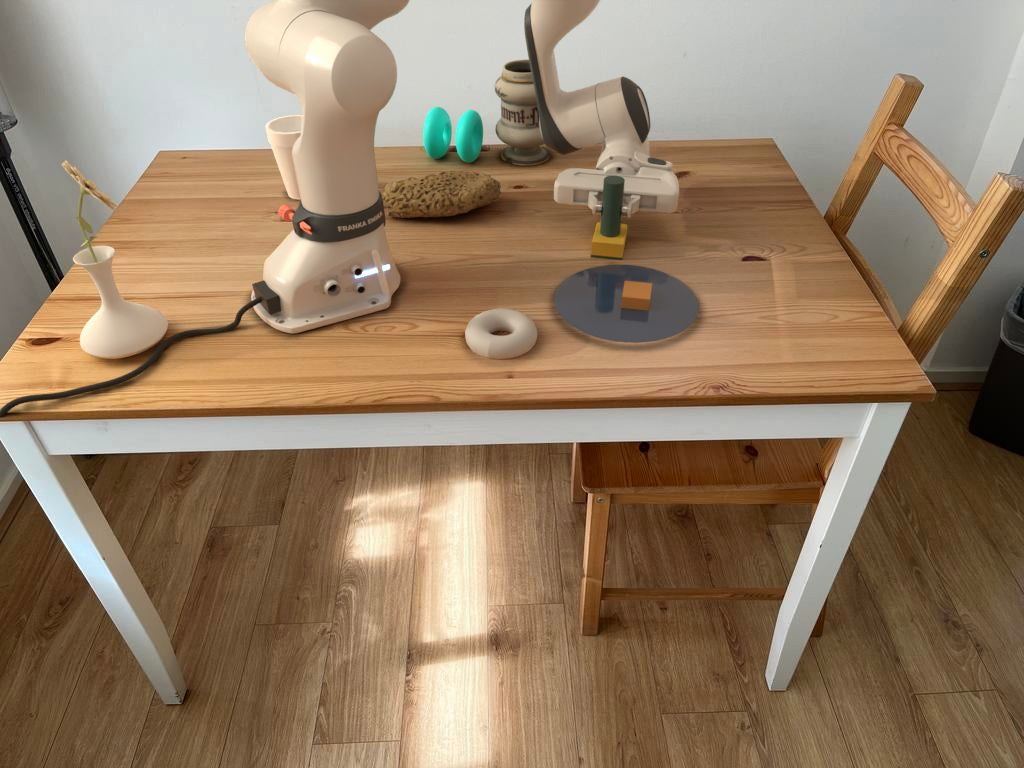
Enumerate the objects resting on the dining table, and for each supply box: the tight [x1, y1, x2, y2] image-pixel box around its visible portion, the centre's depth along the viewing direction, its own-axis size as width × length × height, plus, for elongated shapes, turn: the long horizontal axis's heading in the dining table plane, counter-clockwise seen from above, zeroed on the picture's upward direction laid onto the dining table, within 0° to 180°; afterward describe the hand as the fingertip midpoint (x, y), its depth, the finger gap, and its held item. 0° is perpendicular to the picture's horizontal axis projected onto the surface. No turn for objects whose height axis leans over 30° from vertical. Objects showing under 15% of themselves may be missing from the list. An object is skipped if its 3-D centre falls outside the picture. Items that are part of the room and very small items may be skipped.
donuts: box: [422, 106, 484, 163], centre depth 154 cm, size 10×10×10 cm
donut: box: [464, 308, 539, 360], centre depth 105 cm, size 10×4×10 cm
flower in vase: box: [61, 160, 169, 360], centre depth 100 cm, size 13×11×25 cm
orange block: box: [621, 281, 652, 311], centre depth 112 cm, size 4×4×2 cm
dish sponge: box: [590, 176, 628, 261], centre depth 122 cm, size 7×5×12 cm
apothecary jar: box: [494, 58, 550, 167], centre depth 152 cm, size 12×12×18 cm
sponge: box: [381, 170, 502, 219], centre depth 136 cm, size 13×8×20 cm
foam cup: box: [264, 114, 302, 201], centre depth 141 cm, size 10×9×13 cm
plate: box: [553, 264, 700, 344], centre depth 113 cm, size 21×21×1 cm
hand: (611, 212), depth 120 cm, fingers closed on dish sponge, 3 cm apart
